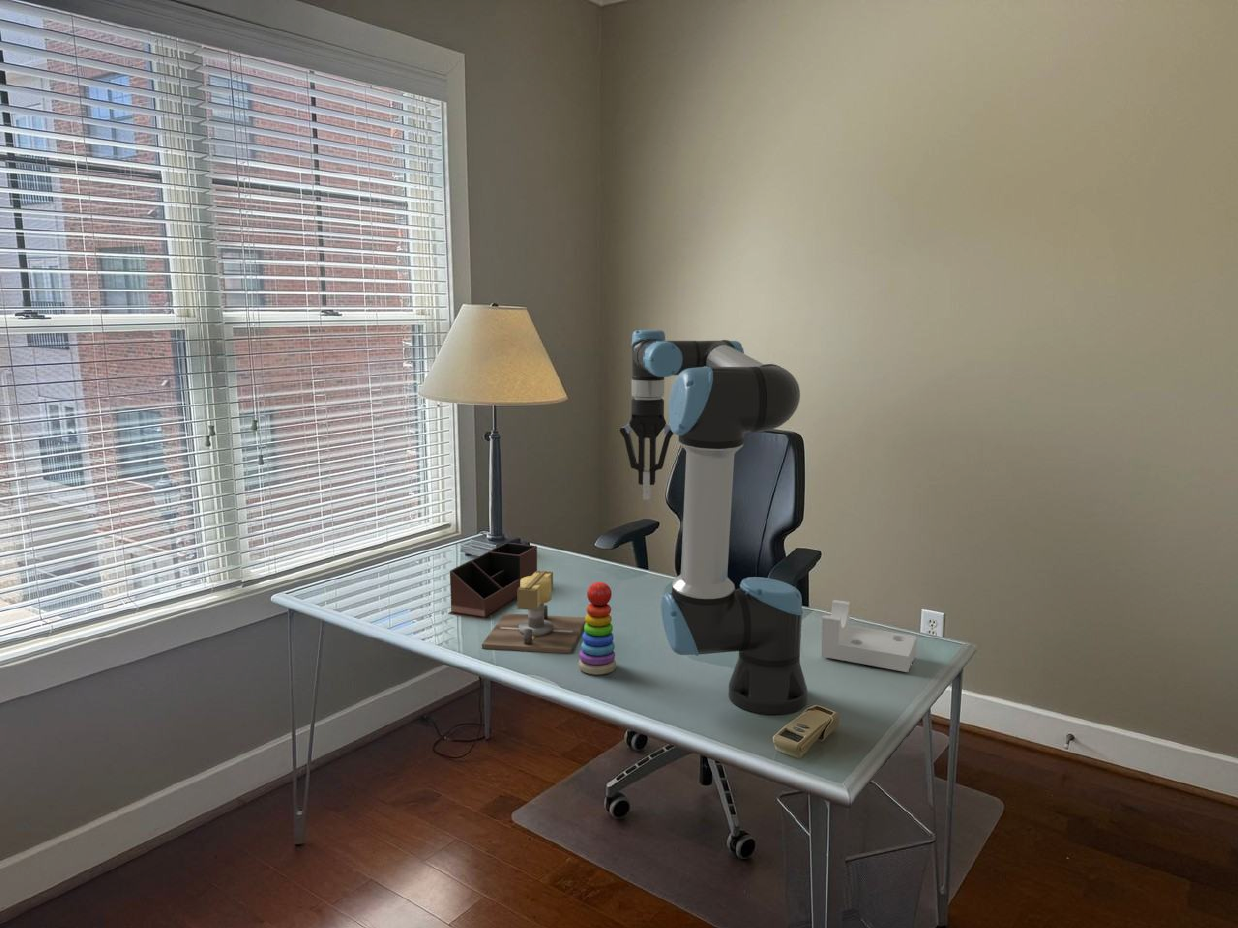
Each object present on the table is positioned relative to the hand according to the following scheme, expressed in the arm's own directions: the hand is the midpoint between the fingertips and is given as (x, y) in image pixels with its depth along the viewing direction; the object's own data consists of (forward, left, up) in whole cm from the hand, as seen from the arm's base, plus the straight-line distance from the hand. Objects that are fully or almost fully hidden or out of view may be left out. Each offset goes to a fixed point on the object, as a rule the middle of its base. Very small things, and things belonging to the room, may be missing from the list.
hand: (646, 498), depth 209 cm
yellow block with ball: (-12, +24, -22) cm, 35 cm away
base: (-12, +24, -30) cm, 41 cm away
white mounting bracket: (-15, -50, -31) cm, 61 cm away
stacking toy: (-29, +7, -31) cm, 43 cm away
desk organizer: (+11, +40, -31) cm, 52 cm away
